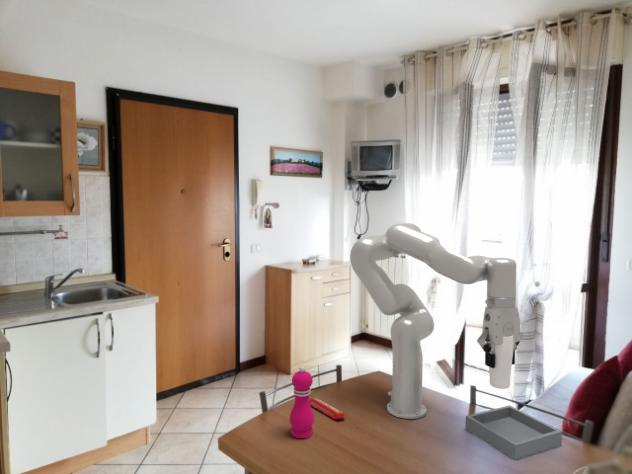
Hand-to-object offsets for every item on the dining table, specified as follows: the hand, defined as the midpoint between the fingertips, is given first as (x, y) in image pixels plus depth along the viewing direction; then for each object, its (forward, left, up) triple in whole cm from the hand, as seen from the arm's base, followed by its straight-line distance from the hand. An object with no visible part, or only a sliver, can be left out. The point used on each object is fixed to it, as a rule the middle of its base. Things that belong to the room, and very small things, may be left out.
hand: (499, 364), depth 125 cm
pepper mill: (-25, -50, -22) cm, 60 cm away
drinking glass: (0, 0, -6) cm, 6 cm away
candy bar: (-35, -37, -22) cm, 56 cm away
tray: (+1, +5, -22) cm, 23 cm away
